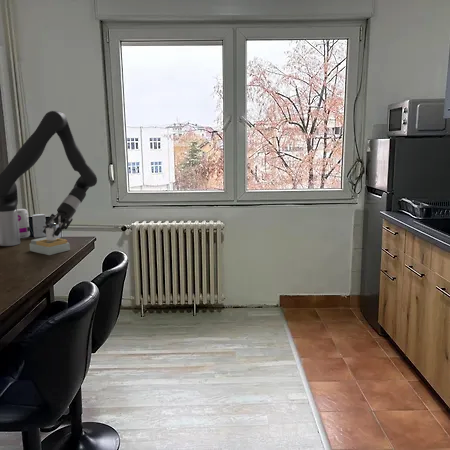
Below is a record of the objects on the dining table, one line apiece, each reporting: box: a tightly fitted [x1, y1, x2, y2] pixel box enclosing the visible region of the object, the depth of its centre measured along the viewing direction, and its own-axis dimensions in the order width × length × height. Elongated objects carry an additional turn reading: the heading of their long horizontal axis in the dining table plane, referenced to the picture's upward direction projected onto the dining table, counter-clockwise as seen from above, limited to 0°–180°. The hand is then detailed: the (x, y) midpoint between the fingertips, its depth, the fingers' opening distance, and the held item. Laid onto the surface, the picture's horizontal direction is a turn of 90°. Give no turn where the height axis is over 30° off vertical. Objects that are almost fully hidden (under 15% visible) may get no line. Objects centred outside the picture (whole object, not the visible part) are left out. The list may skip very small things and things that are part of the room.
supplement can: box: [17, 208, 31, 239], centre depth 227 cm, size 8×8×15 cm
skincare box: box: [31, 213, 47, 239], centre depth 228 cm, size 6×4×12 cm
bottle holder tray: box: [28, 237, 71, 256], centre depth 198 cm, size 15×11×5 cm
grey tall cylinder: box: [46, 225, 57, 243], centre depth 196 cm, size 4×4×12 cm
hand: (49, 234), depth 195 cm, fingers open, 8 cm apart
